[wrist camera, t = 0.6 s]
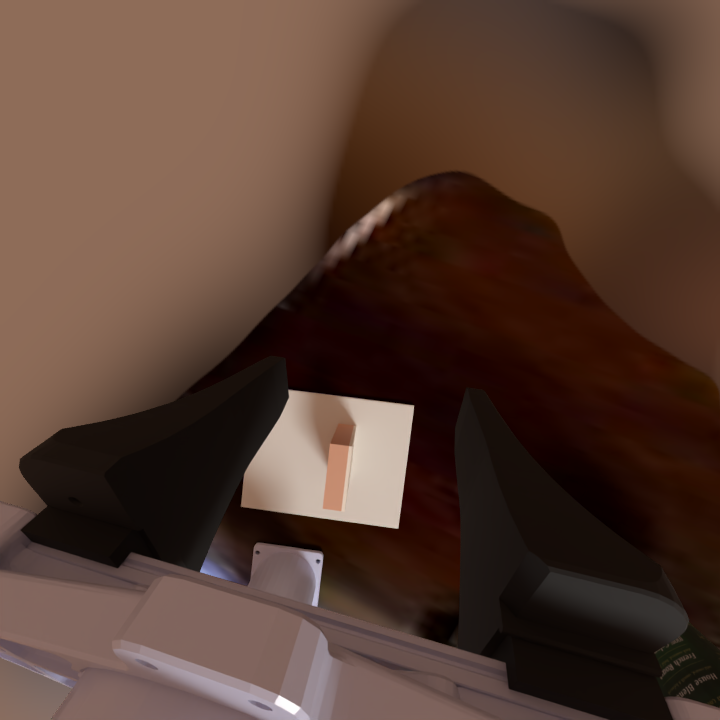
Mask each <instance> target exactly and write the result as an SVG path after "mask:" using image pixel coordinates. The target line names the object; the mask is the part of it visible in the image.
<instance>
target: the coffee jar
mask: <svg viewBox="0 0 720 720" xmlns="http://www.w3.org/2000/svg"><path fill="white" fill-rule="evenodd" d="M654 653H655V655H656V657H657V660H658V662H659V664H660V667H661V669H662V676H661V677H660V678H658V677H656V679H657V681H658V683H659V686H660V688H661V691H662V693H663V696H664V697H681V698H686V699H690V700H694V701H697V702H701V703H704V704H708V705H711V706H714V707H718V708H720V650H719V649H718V648H717V647H716V646H714V645H713V644H712V643H711V642H710V641H709V640H708V639H707V638H706V637H705V636H703V635H702V634H701V633H700V632H699V631H698V630H697V629H696V628H695V627H694V626H692V625H691V624H690V623H689V622H688V626H687V629H686V630H685V632H684V633H683V634H682V635H680V636H679V637H678V638H677V639H675V640H674V641H672V642H671V643H669V644H667V645H666V646H664V647H662V648H661V649H659V650H658V651H656V652H654Z"/></svg>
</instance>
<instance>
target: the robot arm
mask: <svg viewBox="0 0 720 720" xmlns="http://www.w3.org/2000/svg"><path fill="white" fill-rule="evenodd" d="M288 399H289V391H288V381H287V372H286V362H285V358H281V357H275V356H270V357H268V358H266V359H264V360H262V361H260V362H258V363H256V364H254V365H252V366H250V367H248V368H246V369H245V370H243V371H241V372H239V373H237V374H235V375H233V376H231V377H229V378H227V379H225V380H223V381H221V382H219V383H217V384H215V385H213V386H211V387H209V388H206V389H204V390H202V391H200V392H197V393H195V394H193V395H190V396H187V397H185V398H182V399H180V400H177V401H174V402H171V403H169V404H166V405H162V406H159V407H156V408H153V409H150V410H146V411H143V412H139V413H136V414H132V415H128V416H124V417H120V418H116V419H112V420H107V421H102V422H97V423H92V424H86V425H81V426H76V427H71V428H65V429H61V430H60V431H58V432H57V433H55V434H54V435H53V436H51V437H50V438H48V439H47V440H46V441H44V442H43V443H41V444H40V445H39V446H37V447H36V448H34V449H33V450H32V451H30V452H29V453H27V454H26V455H24V456H23V457H22V458H21V459H20V464H19V469H20V471H21V473H22V475H23V477H24V478H25V479H26V481H27V482H28V483H29V484H30V486H31V487H32V488H33V489H34V490H35V492H36V493H37V494H38V495H39V496H40V497H41V499H42V500H43V501H44V502H45V503H46V504H47V507H46V508H45V509H44V510H43V511H42V512H40V513H39V514H38V515H37V514H36V513H34V512H32V511H31V510H28V509H25V508H22V507H19V506H15V505H12V504H8V503H5V502H2V501H0V657H1V658H3V659H5V660H8V661H10V662H12V663H15V664H17V665H19V666H22V667H24V668H27V669H29V670H31V671H34V672H36V673H38V674H41V675H43V676H45V677H48V678H50V679H52V680H55V681H57V682H59V683H61V684H64V685H66V686H68V687H71V688H73V689H72V690H71V691H70V693H69V694H68V696H67V697H66V698H65V700H64V701H63V703H62V704H61V706H60V707H59V709H58V710H57V711H56V713H55V714H54V715H53V717H52V718H51V720H720V708H718V707H714V706H711V705H708V704H704V703H701V702H697V701H694V700H690V699H686V698H681V697H664V696H663V693H662V691H661V688H660V686H659V683H658V681H657V679H656V677H658V678H660V677H661V676H662V669H661V667H660V664H659V662H658V660H657V657H656V655H655V653H654V652H656V651H658V650H659V649H661V648H662V647H664V646H666V645H667V644H669V643H671V642H672V641H674V640H675V639H677V638H678V637H679V636H680V635H682V634H683V633H684V632H685V630H686V629H687V626H688V622H689V618H688V616H687V614H686V612H685V610H684V608H683V606H682V604H681V602H680V600H679V598H678V596H677V594H676V592H675V590H674V588H673V586H672V585H671V583H670V581H669V580H668V578H667V576H666V574H665V573H664V571H663V569H662V568H661V566H660V565H659V564H657V563H656V562H655V561H653V560H652V559H650V558H649V557H648V556H646V555H645V554H643V553H642V552H641V551H639V550H638V549H636V548H635V547H634V546H632V545H631V544H630V543H628V542H627V541H625V540H624V539H623V538H621V537H620V536H618V535H617V534H616V533H615V532H613V531H612V530H611V529H609V528H608V527H607V526H606V525H604V524H603V523H602V522H601V521H600V520H598V519H597V518H596V517H595V516H593V515H592V514H591V513H590V512H588V511H587V510H586V509H585V508H584V507H583V506H581V505H580V504H579V503H578V502H577V501H576V500H575V499H574V498H572V497H571V496H570V495H569V494H568V493H567V492H566V491H565V490H564V489H563V488H561V487H560V486H559V485H558V484H557V483H556V482H555V481H554V480H553V479H552V478H551V477H550V476H549V475H548V474H547V473H546V472H545V471H544V470H543V468H542V467H541V466H540V465H539V464H538V463H537V462H536V461H535V460H534V459H533V458H532V457H531V455H530V454H529V453H528V452H527V451H526V449H525V448H524V447H523V446H522V445H521V443H520V442H519V441H518V440H517V438H516V437H515V436H514V434H513V433H512V431H511V430H510V429H509V427H508V426H507V425H506V423H505V422H504V420H503V419H502V417H501V416H500V414H499V413H498V411H497V410H496V408H495V407H494V405H493V404H492V402H491V400H490V399H489V397H488V396H487V394H486V393H485V391H484V390H479V389H473V388H466V392H465V395H464V399H463V402H462V406H461V409H460V413H459V417H458V420H457V424H456V427H455V461H456V472H457V481H458V491H459V501H460V515H461V561H460V603H459V629H458V649H457V648H454V647H451V646H447V645H444V644H440V643H437V642H434V641H430V640H427V639H424V638H420V637H417V636H413V635H410V634H407V633H403V632H400V631H396V630H393V629H390V628H386V627H383V626H380V625H376V624H373V623H369V622H366V621H363V620H359V619H356V618H353V617H349V616H346V615H342V614H339V613H336V612H332V611H329V610H325V609H322V608H319V607H317V606H318V598H319V589H320V581H321V572H322V563H323V553H322V552H321V551H315V550H308V549H301V548H294V547H287V546H280V545H273V544H266V543H256V544H255V546H254V551H253V561H252V570H251V580H250V582H249V584H248V586H244V585H241V584H238V583H234V582H231V581H227V580H224V579H221V578H217V577H214V576H210V575H207V574H204V573H200V570H201V567H202V565H203V562H204V560H205V557H206V555H207V553H208V550H209V548H210V545H211V543H212V540H213V538H214V536H215V534H216V531H217V529H218V527H219V525H220V522H221V520H222V518H223V516H224V514H225V512H226V509H227V507H228V505H229V503H230V501H231V499H232V497H233V495H234V493H235V491H236V489H237V487H238V485H239V483H240V481H241V479H242V477H243V475H244V473H245V471H246V470H247V468H248V466H249V464H250V463H251V461H252V460H253V458H254V456H255V455H256V453H257V452H258V450H259V449H260V447H261V446H262V444H263V443H264V441H265V440H266V438H267V437H268V435H269V434H270V432H271V431H272V429H273V427H274V426H275V424H276V423H277V421H278V420H279V418H280V416H281V414H282V412H283V410H284V408H285V405H286V403H287V401H288ZM257 551H259V552H260V553H258V552H257ZM317 559H319V560H320V561H317Z"/></svg>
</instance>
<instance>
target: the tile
mask: <svg viewBox="0 0 720 720" xmlns="http://www.w3.org/2000/svg"><path fill="white" fill-rule="evenodd" d="M355 435H356V426H354V425H346V424H338V426H337V429H336V431H335V433H334V436H333V438H332V440H331V443H330V449H329V457H328V466H327V475H326V483H325V492H324V501H323V509H328V510H335V511H343V512H345V506H346V501H347V495H348V489H349V483H350V476H351V468H352V460H353V451H354V443H355Z"/></svg>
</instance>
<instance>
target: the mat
mask: <svg viewBox="0 0 720 720" xmlns="http://www.w3.org/2000/svg"><path fill="white" fill-rule="evenodd" d="M288 391H289V399H288V401H287V403H286V405H285V408H284V410H283V412H282V414H281V416H280V418H279V420H278V421H277V423H276V424H275V426H274V427H273V429H272V431H271V432H270V434H269V435H268V437H267V438H266V440H265V441H264V443H263V444H262V446H261V447H260V449H259V450H258V452H257V453H256V455H255V456H254V458H253V460H252V461H251V463H250V464H249V466H248V468H247V470H246V471H245V473H244V482H243V492H242V502H241V507H247V508H254V509H261V510H268V511H275V512H282V513H290V514H297V515H304V516H311V517H318V518H325V519H333V520H340V521H347V522H354V523H361V524H368V525H376V526H383V527H390V528H397V529H398V526H399V518H400V510H401V503H402V495H403V487H404V480H405V472H406V464H407V457H408V449H409V441H410V434H411V426H412V418H413V411H414V405H408V404H400V403H392V402H384V401H376V400H368V399H360V398H352V397H344V396H336V395H328V394H320V393H312V392H304V391H296V390H288ZM338 424H346V425H354V426H356V435H355V443H354V451H353V460H352V468H351V476H350V483H349V489H348V495H347V501H346V506H345V512H343V511H335V510H328V509H323V501H324V492H325V483H326V475H327V466H328V457H329V449H330V443H331V440H332V438H333V436H334V433H335V431H336V429H337V426H338Z"/></svg>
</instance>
